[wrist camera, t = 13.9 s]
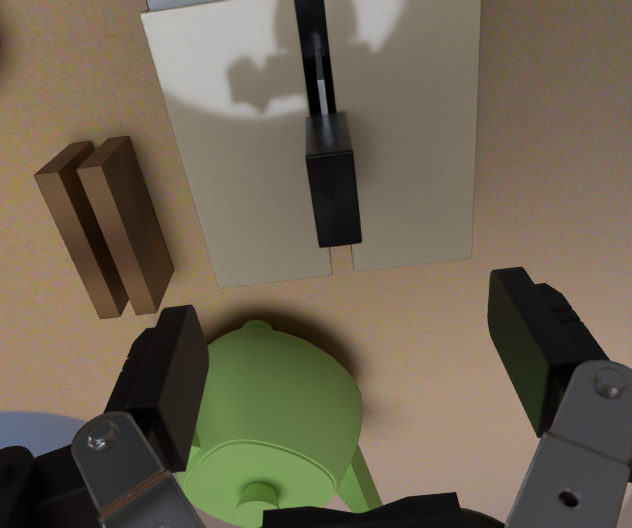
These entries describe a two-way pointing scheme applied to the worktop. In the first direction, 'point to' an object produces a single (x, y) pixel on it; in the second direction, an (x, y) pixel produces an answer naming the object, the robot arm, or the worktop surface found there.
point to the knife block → (108, 225)
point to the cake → (303, 101)
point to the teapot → (275, 430)
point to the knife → (331, 174)
